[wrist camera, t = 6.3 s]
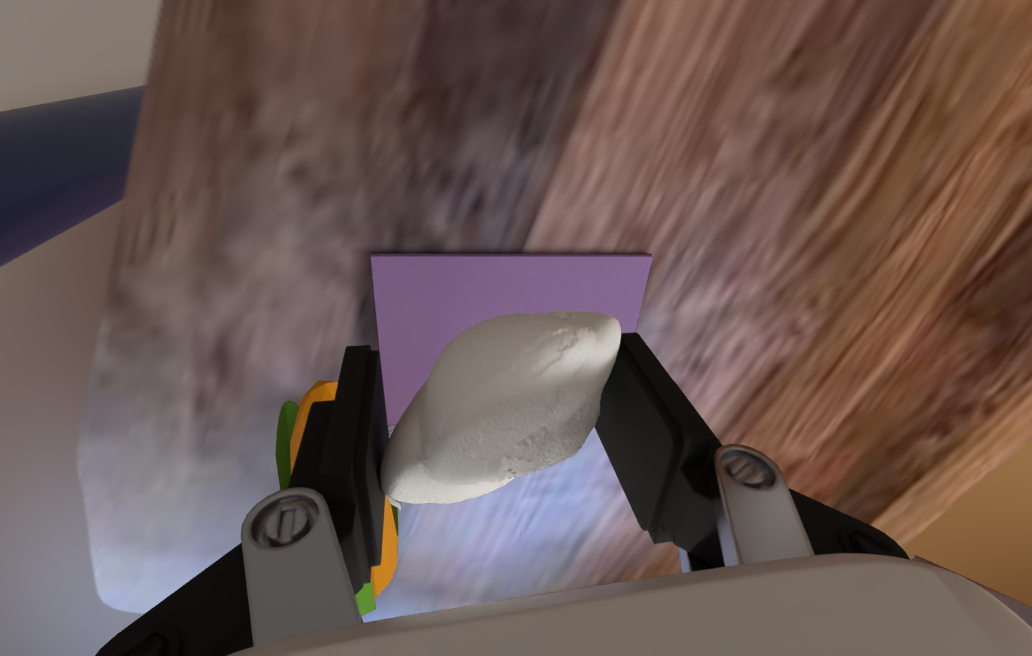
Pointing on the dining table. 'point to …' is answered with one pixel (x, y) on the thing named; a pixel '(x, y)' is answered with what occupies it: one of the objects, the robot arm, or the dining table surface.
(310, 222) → the dining table surface
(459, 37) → the dining table surface
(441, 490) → the dumpling
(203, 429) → the dining table surface
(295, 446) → the corn
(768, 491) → the robot arm
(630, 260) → the cloth
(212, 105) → the dining table surface
